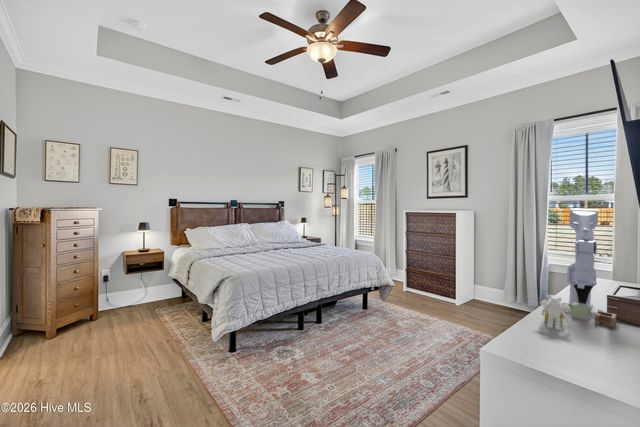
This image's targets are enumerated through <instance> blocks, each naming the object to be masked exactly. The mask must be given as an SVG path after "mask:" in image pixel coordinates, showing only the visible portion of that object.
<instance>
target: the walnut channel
mask: <svg viewBox="0 0 640 427" xmlns="http://www.w3.org/2000/svg"><path fill="white" fill-rule="evenodd" d="M561 303H562V304H563V306H564V305H565V304H567V303H566V302H561ZM563 310H564V309H563ZM565 311H567V310H565ZM615 323H617V314H616V313H611V312H606V311H603V310H602V309H597V312H595V315H594V326H600V325H601V326H605V327H608V328H613V327H614V328H615V327H616V324H615Z"/></svg>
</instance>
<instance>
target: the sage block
mask: <svg viewBox="0 0 640 427" xmlns="http://www.w3.org/2000/svg"><path fill="white" fill-rule="evenodd" d="M590 310H591V309H590V305H587V304H582V303H577V302H573V304H572V306H571V310H570V311H571V312H570V316H571V317H572V318H576V319H580V320H584V321H588V320H589V318H590V312H591V311H590Z"/></svg>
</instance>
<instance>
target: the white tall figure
mask: <svg viewBox="0 0 640 427" xmlns="http://www.w3.org/2000/svg"><path fill="white" fill-rule="evenodd" d="M547 295H548V296H549V295H550V294H547ZM551 295H552V296H551V297H552V298H553V297H555V298H558V299H559V301H561V305H562V307H563V304H562V303H563V302H562V297H561V296H558V295H555V294H551ZM552 298H549V297H547V300H546V301H547V303H548V304H549V300H550V299H552ZM546 312H547V311H546ZM563 318H564V316H563V315H562V313H561V315H560V325H562V324H563ZM548 319H549V314H548V312H547V314H546V313H544V321H545V322H547V323H548ZM555 324H556V321H555V318H554V319H553V325H555Z"/></svg>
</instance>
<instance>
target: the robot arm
mask: <svg viewBox="0 0 640 427" xmlns="http://www.w3.org/2000/svg"><path fill="white" fill-rule="evenodd" d="M598 220H599V210H598V209H597V208H594V209H593V208H592V209H591V208H588V209H587V208H570V209H569V227H570V229H573V230H574V232H575V243H574V253H575V255H574V256H575V260H574V261H575V262H574V263H571V264H570V265H568V266H567V271H566V282H567V284H569V300H568V302H567V303H566V304H567V305H568V306H570V307H572V304H573V302H577V303H582V304H587V305H590V310H591V309H592V307H593V305H594V304H593V303H591V302H592V301H591V298H592V297H591V296H592V289H593V288H594V287H595V286H597V285H598V282H597V271H596V269H595V256H597V255H596V254H597V249H598V244H597V241H596V239H595V233H594V231H593V230H595V229H596V227H597V225H598V224H597V223H598Z"/></svg>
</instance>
